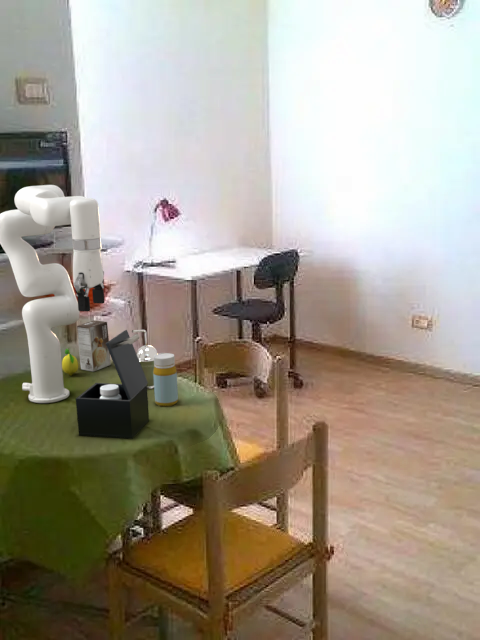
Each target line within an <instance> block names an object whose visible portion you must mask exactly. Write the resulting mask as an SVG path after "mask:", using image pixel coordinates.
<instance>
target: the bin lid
mask: <svg viewBox="0 0 480 640" xmlns="http://www.w3.org/2000/svg"><path fill="white" fill-rule="evenodd" d="M139 339H140V335H139V334H138V333H135V334H133V335H132V336H131V337H130V334H129V332H128V329H125V330H123V331H121V332H120V333H119V334H117V335H115V336H114V337H113V338H111V339H109V341H108V342H107V343H106V346H107V348H108V350H109V353H110V359H111V360H112V363H113V365H114V368H115V370H116V373H117V375H118V378H119V380H120V382H121V383H120V384H122V385H123V388H124V390H125V393H126V395H127V398H128V400H130V399H132V398H133V397H134V396H135V395H136V394H137V393H138V392H139V391H140V390H141V389H142V388H143V387H145V386H146V385H147V384H148V382H147V379H146V377H145V374H144V372H143V369H142V367H141V364H140V362H139V359H138V357H137V354H136V353H137V351H136V349H135V347H134V343H135V342H137V341H139Z"/></svg>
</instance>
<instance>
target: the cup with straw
mask: <svg viewBox="0 0 480 640" xmlns="http://www.w3.org/2000/svg"><path fill="white" fill-rule="evenodd" d="M131 333H144V345H142V346H140V347H139V348H138V349H137V350H136V354H137V357H138V359H139V362H140V364H141V367H142V369H143V372H144V374H145V377H146V379H147V382H148V384H147V390H151V389H154V376H153V370H154V367H155V366H154V356H155V355H156V354H159V353H158V351H157V349H156V348H155V347H154V346H152V345H149V344H148V334H147V330H145V329H132V330H131Z"/></svg>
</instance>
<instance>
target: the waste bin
mask: <svg viewBox="0 0 480 640" xmlns="http://www.w3.org/2000/svg"><path fill="white" fill-rule="evenodd" d="M108 384H111V383H109V382H108V383H107V382H95V383H94V384H92V385H91V386H90V387H89V388H87V389H86V390H85V391H83V392H82V393H81V394H79V395H78V396H77V397H76V398H75V406H76V419H77V432H78V436H80V437H92V438H93V437H94V438H95V437H96V438H111V439H125V440H126V439H129V440H133V439H134V438H135V437H136V436H137V435H138V434H139V432H141V430H142V429H143V428H145V426H146V425H147V424H148V423H149V422H150V410H149V395H148V393H149V392H148V389H147V385H146V386H145V387H143V388H142V389H141V390H140V391H139V392H138V393H137V394H136V395H135V396H134V397H133V398H132V399H130V400H128V398H127V395H126V393H125V390H124V388H123V385H122V383H114V384H115V385H118V386H119V393H118V394H120V395H121V397H122V400H114V399H100V397H101V396H102V395H101V394H100V387H101V386H104V385H108Z"/></svg>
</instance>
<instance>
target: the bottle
mask: <svg viewBox="0 0 480 640" xmlns="http://www.w3.org/2000/svg"><path fill="white" fill-rule="evenodd" d="M175 360H176V358H175V354H174V353H171V352H160V353H158V354H156V355H155V356H154V366H155V367H154V370H153V376H154V388H153V393H154V403H155V404H156V405H157V406H160V407H171V406H174V405H176V404H177V403H178V401H179V392H178V390H179V389H178V374H177V373H178V372H177V368H176V361H175Z"/></svg>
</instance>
